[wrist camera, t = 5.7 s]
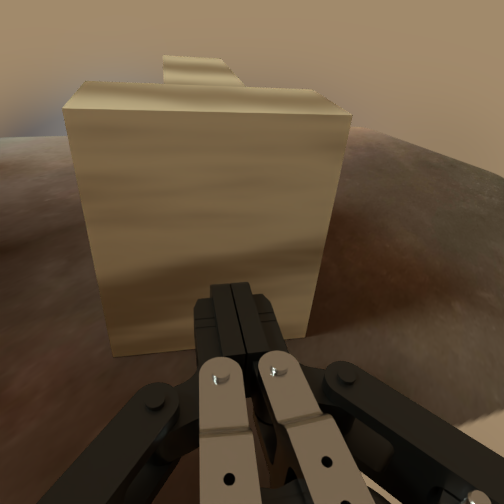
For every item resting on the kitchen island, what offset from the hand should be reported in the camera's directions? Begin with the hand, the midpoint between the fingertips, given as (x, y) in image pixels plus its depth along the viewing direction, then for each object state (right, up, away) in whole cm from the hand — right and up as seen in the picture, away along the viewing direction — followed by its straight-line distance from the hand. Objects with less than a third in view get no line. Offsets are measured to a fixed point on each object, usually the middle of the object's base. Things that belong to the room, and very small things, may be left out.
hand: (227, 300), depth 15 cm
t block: (-3, +1, +13) cm, 13 cm away
